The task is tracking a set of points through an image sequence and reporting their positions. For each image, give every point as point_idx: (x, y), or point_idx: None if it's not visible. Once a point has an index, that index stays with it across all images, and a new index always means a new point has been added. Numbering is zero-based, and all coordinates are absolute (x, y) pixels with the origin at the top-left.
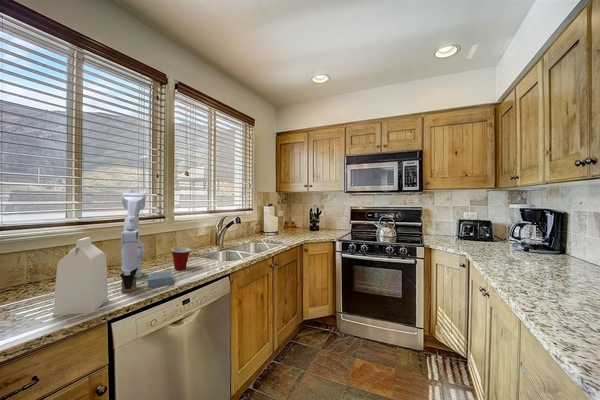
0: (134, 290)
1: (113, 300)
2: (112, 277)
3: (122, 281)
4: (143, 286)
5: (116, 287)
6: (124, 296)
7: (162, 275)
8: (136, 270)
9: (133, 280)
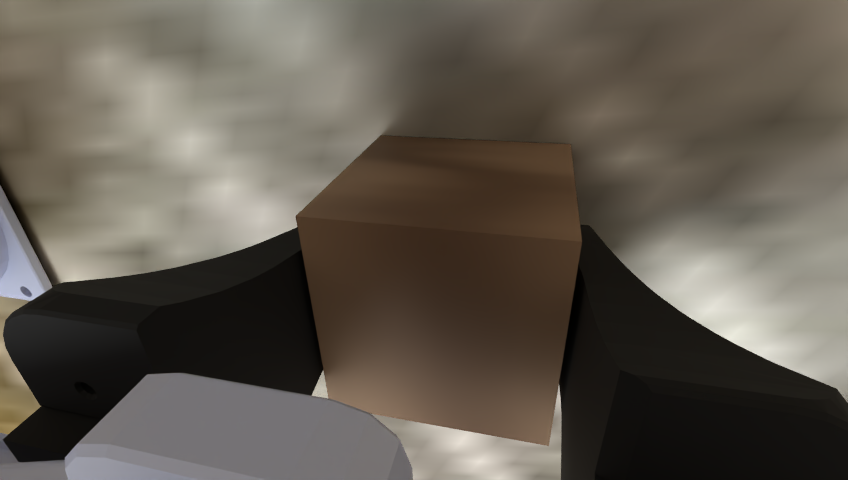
0: (571, 154)
1: (843, 379)
2: (4, 359)
3: (549, 431)
4: (372, 20)
5: None
6: (762, 271)
7: None
8: (185, 315)
9: (574, 269)
